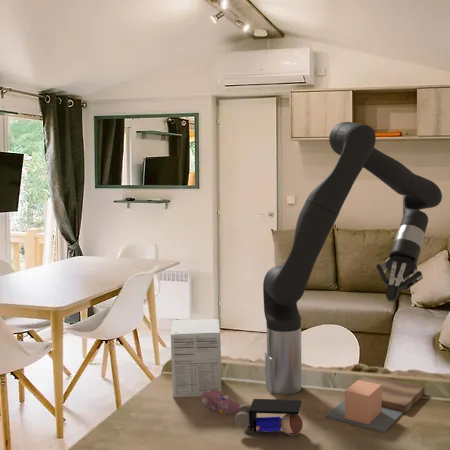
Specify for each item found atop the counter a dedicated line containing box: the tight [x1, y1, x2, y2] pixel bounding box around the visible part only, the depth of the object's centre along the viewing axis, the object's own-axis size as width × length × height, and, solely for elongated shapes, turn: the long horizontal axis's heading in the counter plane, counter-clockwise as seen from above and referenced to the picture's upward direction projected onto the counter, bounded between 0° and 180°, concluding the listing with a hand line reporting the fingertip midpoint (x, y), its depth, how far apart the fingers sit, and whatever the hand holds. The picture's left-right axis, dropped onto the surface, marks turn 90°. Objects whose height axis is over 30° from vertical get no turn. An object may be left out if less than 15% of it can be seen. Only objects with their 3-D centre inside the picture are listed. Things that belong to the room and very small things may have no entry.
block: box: [344, 379, 382, 424], centre depth 155 cm, size 7×6×8 cm
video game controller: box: [199, 389, 241, 415], centre depth 160 cm, size 10×5×7 cm
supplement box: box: [170, 318, 222, 398], centre depth 175 cm, size 13×13×18 cm
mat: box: [324, 399, 404, 433], centre depth 156 cm, size 12×15×1 cm
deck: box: [359, 376, 425, 414], centre depth 167 cm, size 14×16×2 cm
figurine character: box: [234, 398, 304, 436], centre depth 148 cm, size 7×8×15 cm
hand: (390, 300), depth 170 cm, fingers closed
